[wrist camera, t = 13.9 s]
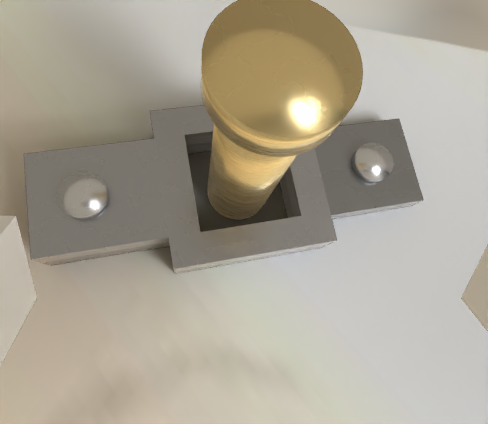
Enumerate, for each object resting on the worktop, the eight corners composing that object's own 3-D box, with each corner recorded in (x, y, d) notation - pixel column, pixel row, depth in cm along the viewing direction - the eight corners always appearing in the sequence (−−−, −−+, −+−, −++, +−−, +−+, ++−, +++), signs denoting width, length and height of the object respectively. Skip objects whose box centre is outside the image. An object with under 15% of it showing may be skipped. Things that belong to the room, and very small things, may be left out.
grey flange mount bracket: (382, 106, 29) (408, 78, 25) (418, 230, 27) (452, 219, 23) (42, 145, 25) (17, 119, 21) (53, 295, 23) (28, 293, 19)
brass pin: (266, 149, 27) (341, -12, 13) (282, 222, 25) (381, 125, 12) (192, 159, 26) (189, -3, 12) (205, 234, 25) (217, 146, 11)
